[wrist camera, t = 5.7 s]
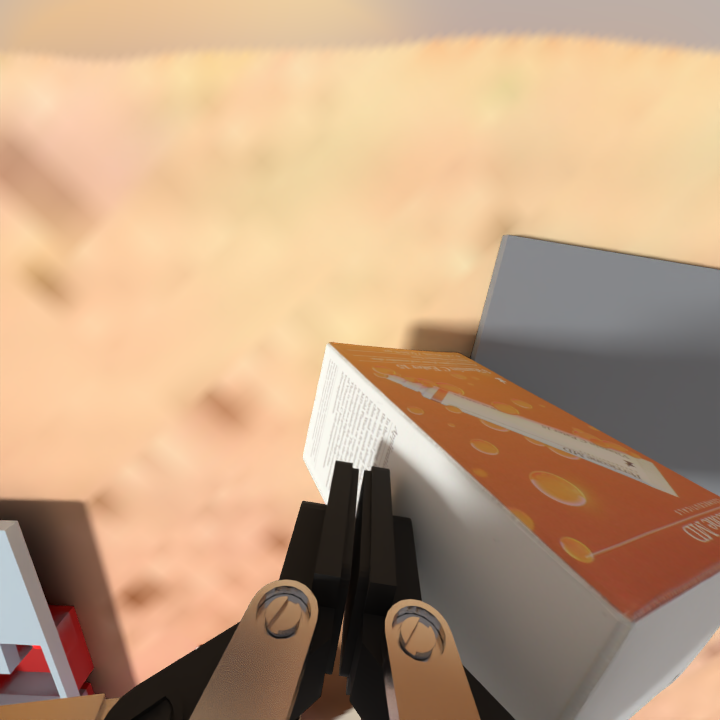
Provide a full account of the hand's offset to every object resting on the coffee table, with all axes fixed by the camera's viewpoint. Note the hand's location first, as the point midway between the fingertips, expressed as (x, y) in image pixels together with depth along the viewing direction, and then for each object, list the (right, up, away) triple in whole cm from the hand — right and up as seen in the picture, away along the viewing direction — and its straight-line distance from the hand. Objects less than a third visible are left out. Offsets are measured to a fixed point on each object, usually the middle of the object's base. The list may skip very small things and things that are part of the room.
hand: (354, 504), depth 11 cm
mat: (+14, +1, +10) cm, 17 cm away
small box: (+1, +2, +8) cm, 8 cm away
